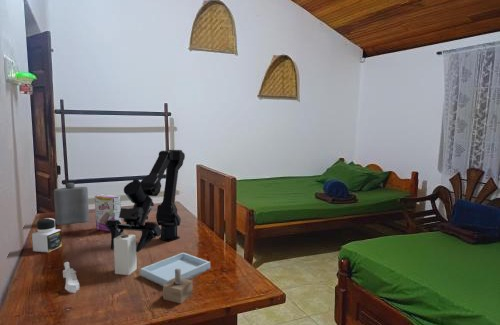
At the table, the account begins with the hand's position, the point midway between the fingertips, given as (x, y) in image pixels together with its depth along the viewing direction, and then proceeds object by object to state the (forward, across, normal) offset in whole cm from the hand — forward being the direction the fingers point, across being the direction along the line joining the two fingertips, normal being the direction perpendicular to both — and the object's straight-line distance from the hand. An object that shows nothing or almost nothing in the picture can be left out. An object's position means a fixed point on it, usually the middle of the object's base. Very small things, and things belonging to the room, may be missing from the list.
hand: (124, 250), depth 112 cm
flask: (-28, -58, +39) cm, 75 cm away
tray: (+3, +17, +8) cm, 19 cm away
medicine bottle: (-4, -42, +15) cm, 45 cm away
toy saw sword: (+11, -14, 0) cm, 18 cm away
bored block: (+5, 0, +6) cm, 7 cm away
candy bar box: (-23, -33, +33) cm, 52 cm away
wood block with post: (+14, +24, -3) cm, 28 cm away
